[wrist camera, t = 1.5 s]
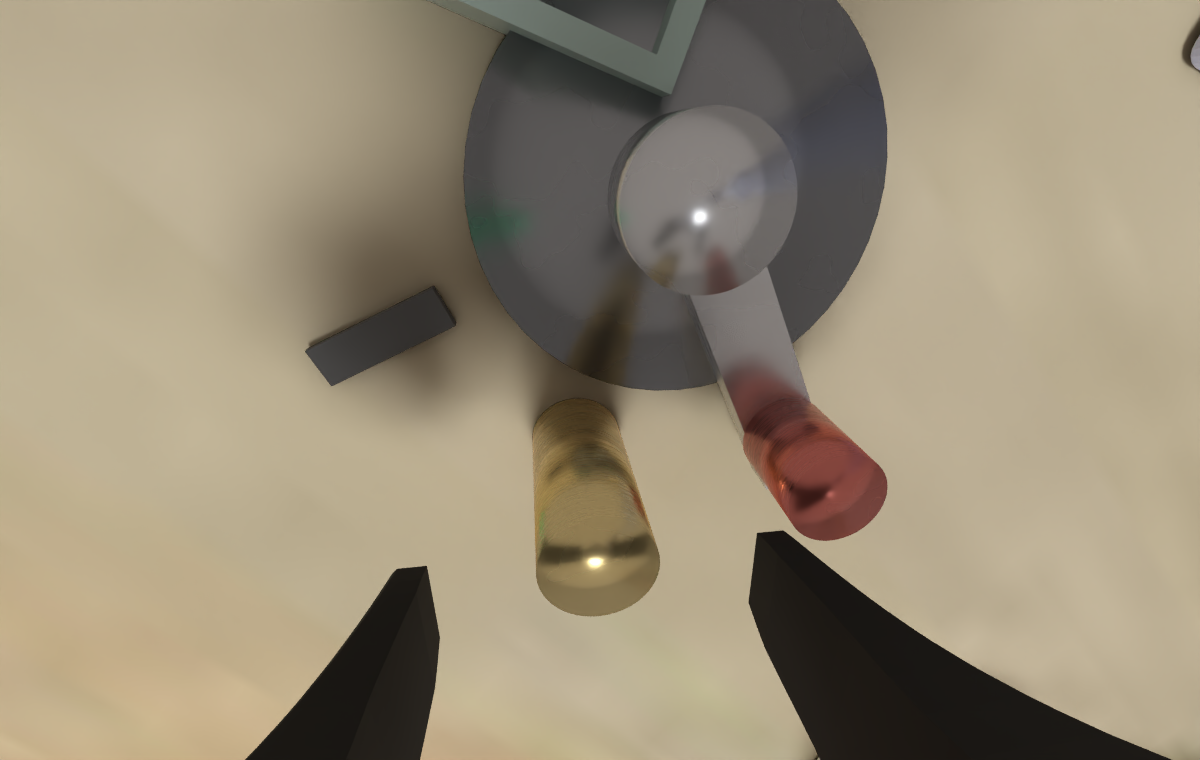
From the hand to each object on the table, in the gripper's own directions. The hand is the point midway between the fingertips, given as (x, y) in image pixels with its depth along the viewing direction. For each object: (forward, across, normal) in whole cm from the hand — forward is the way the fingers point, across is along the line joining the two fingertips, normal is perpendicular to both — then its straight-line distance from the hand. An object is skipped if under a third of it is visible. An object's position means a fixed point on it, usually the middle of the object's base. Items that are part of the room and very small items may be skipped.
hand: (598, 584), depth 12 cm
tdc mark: (+6, +5, -4) cm, 9 cm away
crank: (+5, -4, -5) cm, 8 cm away
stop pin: (+6, 0, 0) cm, 6 cm away
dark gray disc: (+6, -3, -8) cm, 10 cm away
